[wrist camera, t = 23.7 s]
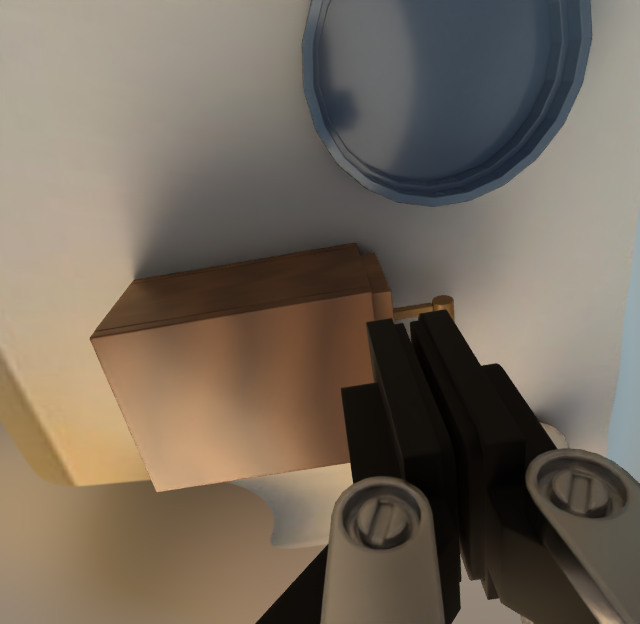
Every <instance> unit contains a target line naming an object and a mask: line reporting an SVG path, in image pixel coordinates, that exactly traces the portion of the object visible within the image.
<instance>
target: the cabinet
mask: <svg viewBox="0 0 640 624" xmlns="http://www.w3.org/2000/svg"><path fill="white" fill-rule="evenodd" d="M370 321H375V313H374V305H373V297H372V291H371V288H370V284H369V281H368V278H367V275H366V272H365V269H364V266H363V263H362V260H361V257H360V254H359V251H358V248H357V245H356V243H352V244H346V245H340V246H334V247H328V248H322V249H317V250H311V251H305V252H299V253H293V254H287V255H281V256H275V257H269V258H263V259H257V260H251V261H245V262H239V263H234V264H228V265H222V266H216V267H210V268H204V269H198V270H192V271H186V272H180V273H174V274H168V275H162V276H156V277H150V278H145V279H139V280H134V281H133V282H132V283H131V285H130V286H129V287H128V288H127V289H126V291H125V292H124V293H123V295H122V296H121V297H120V299H119V300H118V301H117V302H116V304H115V305H114V306H113V308H112V309H111V310H110V312H109V313H108V314H107V315H106V317H105V318H104V319H103V321H102V322H101V323H100V325H99V326H98V327H97V328H96V330H95V331H94V333H93V334H92V335H91V337H90V341H91V343H92V345H93V347H94V350H95V352H96V354H97V357H98V359H99V361H100V363H101V366H102V368H103V370H104V373H105V375H106V377H107V380H108V382H109V384H110V386H111V389H112V391H113V393H114V396H115V398H116V400H117V402H118V405H119V407H120V409H121V412H122V414H123V416H124V418H125V421H126V423H127V425H128V428H129V430H130V432H131V435H132V437H133V439H134V441H135V444H136V446H137V448H138V451H139V453H140V455H141V457H142V460H143V462H144V464H145V467H146V469H147V471H148V473H149V476H150V478H151V480H152V483H153V485H154V487H155V490H156V492H161V491H167V490H173V489H180V488H187V487H193V486H200V485H207V484H213V483H220V482H226V481H233V480H239V479H246V478H253V477H259V476H266V475H272V474H279V473H285V472H292V471H299V470H305V469H312V468H318V467H325V466H331V465H338V464H345V463H350V456H349V448H348V441H347V433H346V426H345V418H344V411H343V403H342V396H341V388H344V387H350V386H356V385H363V384H369V383H374V380H373V373H372V366H371V358H370V351H369V344H368V336H367V329H366V322H370Z"/></svg>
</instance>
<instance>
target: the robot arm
mask: <svg viewBox="0 0 640 624" xmlns="http://www.w3.org/2000/svg"><path fill="white" fill-rule="evenodd" d="M366 329H367V336H368V344H369V351H370V358H371V366H372V373H373V380H374V383H369V384H363V385H356V386H350V387H344V388H341V396H342V403H343V411H344V418H345V426H346V433H347V441H348V448H349V456H350V463H351V471H352V478H353V484H352V485H351V486H350V487H349V488H347V489H346V490H345V491H344V492H342V494H341V495H340V497H339V498H338V500H337V501H336V502H335V505H334V508H333V512H332V515H331V525H330V535H329V544H328V545H327V546H326V547H325V548H324V549H323V550H322V551H321V552H320V554H319V555H318V556H317V557H316V558H315V559H314V560H313V561H312V562H311V563H310V564H309V566H308V567H307V568H306V569H305V570H304V571H303V572H302V573H301V574H300V575H299V577H298V578H297V579H296V580H295V581H294V582H293V583H292V584H291V585H290V586H289V587H288V589H287V590H286V591H285V592H284V593H283V594H282V595H281V596H280V597H279V598H278V599H277V601H276V602H275V603H274V604H273V605H272V606H271V607H270V608H269V609H268V610H267V611H266V613H265V614H264V615H263V616H262V617H261V618H260V619H259V620H258V621H257V622H256V624H451V623H452V622H453V620H454V619H455V617H456V615H457V614H458V612H459V611H460V609H461V606H460V587H459V582H461V561H460V554H461V557H462V560H463V562H464V566H465V569H466V571H467V574H468V577H469V579H470V580H471V581H472V580H478V579H481V582H482V585H483V588H484V591H485V593H486V596H487V599H488V600H490V599H497V598H499V599H500V601H501V603H503V604H504V605H505V606H507V607H509V608H510V609H512V610H513V611H515V612H517V613H518V614H520V615H521V621H522V624H640V483H638V482H637V481H636V480H635V479H634V478H633V477H632V476H631V475H630V474H629V473H628V472H627V471H626V470H624V469H623V468H622V467H620V466H619V465H618V464H616V463H615V462H614V461H612V460H609V459H607V458H605V457H603V456H601V455H599V454H596V453H592V452H589V451H585V450H581V449H567V448H563V449H557V447H556V446H555V444H554V443H553V441H552V440H551V438H550V437H549V435H548V434H547V432H546V431H545V429H544V428H543V426H542V425H541V424H540V422H539V421H538V419H537V418H536V416H535V415H534V413H533V412H532V410H531V409H530V407H529V406H528V404H527V403H526V401H525V400H524V399H523V397H522V396H521V394H520V393H519V391H518V390H517V388H516V387H515V385H514V384H513V382H512V381H511V379H510V378H509V376H508V375H507V374H506V372H505V371H504V369H503V368H502V367H501V366H500V365H499V364H489V365H483V366H481V365H480V363H479V362H478V360H477V358H476V357H475V355H474V354H473V352H472V350H471V349H470V347H469V345H468V344H467V342H466V341H465V339H464V337H463V336H462V334H461V332H460V331H459V329H458V327H457V326H456V324H455V323H454V321H453V319H452V318H451V316H450V314H449V313H448V311H447V310H446V309H444V310H438V311H432V312H426V313H419V318H418V321H412V322H410V332H411V341H410V339H409V336H408V334H407V331H406V329H405V326H404V324H403V323H400V324H394V322H393V320H392V318H389V319H382V320H376V321H370V322H366Z"/></svg>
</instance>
